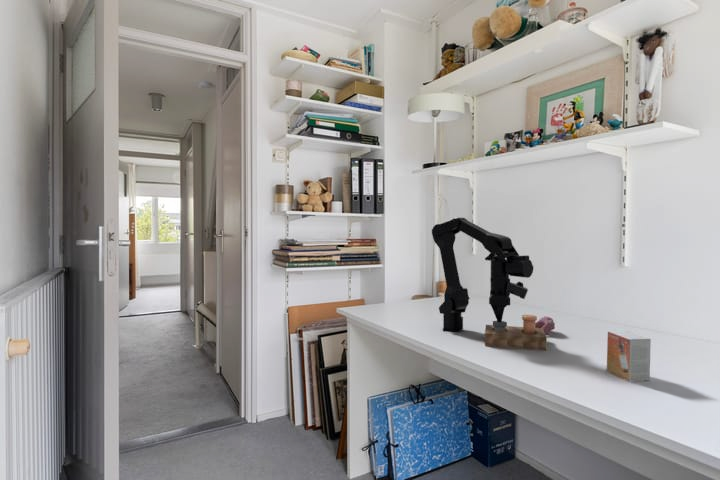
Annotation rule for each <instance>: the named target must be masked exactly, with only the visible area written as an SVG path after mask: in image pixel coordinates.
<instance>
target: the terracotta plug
mask: <svg viewBox="0 0 720 480" xmlns="http://www.w3.org/2000/svg"><path fill="white" fill-rule="evenodd" d="M537 319H538V317H537V316H536V315H534V314H522V315H521V320H522V321H523V322H522V324H523V325H522V327H523V333H531V334H535V323H536V322H537V321H538V320H537Z"/></svg>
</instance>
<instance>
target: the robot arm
mask: <svg viewBox="0 0 720 480" xmlns="http://www.w3.org/2000/svg"><path fill="white" fill-rule="evenodd" d="M460 232H461V233H464V234H466V235H467V236H469V237H470V238H472V239H474V240H475V241H477V242H479V243H481V244H482V246H483V248H484V249H485V250H486V251H488V252H489V253H488V255H487V256H486V257H485V258H484V260H485V261H490V279H489V280H490V281H489V283H490V291H489V298H488V303H489V304H488V305H490V307H491V309H492V311H493V313H494V316H495V318H496V319H495V320H496V321H498V322H501V321H503V316H504V312H505V311H504V310H505V308H506V307H509V306H511V297H510V296H511V295H514V296H516V297H518V298H520V299H523V300H525V298H526V296H527V293H528V291H529V289H528V287H525V286H524V283H523V282H521V281H517V282H516V283H513V282H511V277H518V278H525V279H526V278H528V279H529V278H530V277H532V275H533V272H534V265H533V262H532V261H531V259H530V255H519V252H518V251H517V249H516V248H515V247H514V245H513V242H512V239H511V238H510V237H508V236H506V235H503V234H499V233H495V232H494V233H493V232H490V231H488V230H486V229H485V228H483V227H480V226H479V225H477V224H475V223H474V222H471V221H470V220H468V219H467V218H466V217H455V218H452V219H451V220H448V221H444V222H441V223H437V224H435V225H434V226H433V227H432V228H431V235H432V238H433V242H434V243H435V245H436V246H437V248H439V252H440V257H441V261H442V262H441V263H442V268H443V274H444V278H445V279H444V280H445V285H446V287H445V291H444V294H443V297H444V298H443V299H444V300H443V302H442V303H441V305H439V307H438V310H439V311H438V312H439V314H443V320H442V321H443V327H442V332H443V331H447V332H458V333H459V332H461V331H462V330H463V329H464V317H463V316H462V313H465V312H466V309H467V307H468V306H469V303H470V302H469V300H470V299H471V298H470V297H469V291H468V287H467V288H466V287H463V286H462V284H461V281H460V275H459V271H458V266H457V260H456V256H455V255H456V254H455V251H454V245H455V241H456V235H457V234H458V233H460Z"/></svg>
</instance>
